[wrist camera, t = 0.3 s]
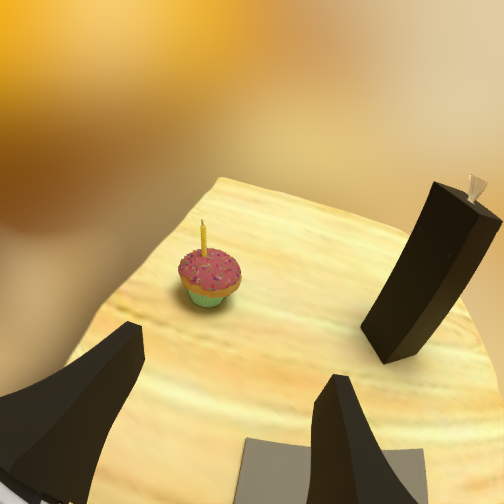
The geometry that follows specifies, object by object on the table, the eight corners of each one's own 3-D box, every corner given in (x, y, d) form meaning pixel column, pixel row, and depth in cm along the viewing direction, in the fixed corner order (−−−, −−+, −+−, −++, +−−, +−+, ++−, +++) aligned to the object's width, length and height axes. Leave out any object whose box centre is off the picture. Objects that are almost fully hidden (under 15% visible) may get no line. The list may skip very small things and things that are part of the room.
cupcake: (169, 307, 39) (173, 232, 33) (187, 271, 46) (194, 202, 40) (230, 323, 39) (247, 250, 33) (240, 285, 46) (256, 216, 40)
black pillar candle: (393, 320, 46) (471, 170, 31) (416, 355, 40) (513, 198, 25) (359, 326, 43) (442, 156, 28) (382, 365, 37) (491, 186, 22)
